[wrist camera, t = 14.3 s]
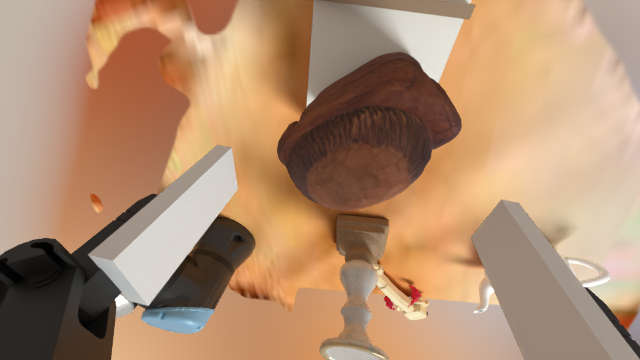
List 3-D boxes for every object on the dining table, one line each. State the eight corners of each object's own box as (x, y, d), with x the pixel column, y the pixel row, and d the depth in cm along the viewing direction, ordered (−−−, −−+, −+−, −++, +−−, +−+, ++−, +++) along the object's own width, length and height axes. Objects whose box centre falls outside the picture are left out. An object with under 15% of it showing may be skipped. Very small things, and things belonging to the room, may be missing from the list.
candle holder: (337, 213, 49) (314, 337, 31) (389, 219, 47) (398, 355, 29) (337, 245, 56) (318, 363, 37) (382, 251, 54) (387, 379, 35)
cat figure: (352, 260, 61) (405, 311, 67) (347, 290, 54) (407, 344, 60) (383, 248, 56) (438, 305, 62) (382, 280, 48) (444, 340, 55)
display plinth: (315, 125, 38) (300, 153, 31) (329, -14, 27) (311, -24, 20) (398, 140, 37) (404, 173, 29) (448, 1, 26) (478, -3, 18)
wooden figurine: (334, 134, 30) (298, 247, 16) (310, 89, 27) (237, 176, 13) (430, 92, 25) (505, 202, 10) (411, 31, 22) (480, 68, 8)
